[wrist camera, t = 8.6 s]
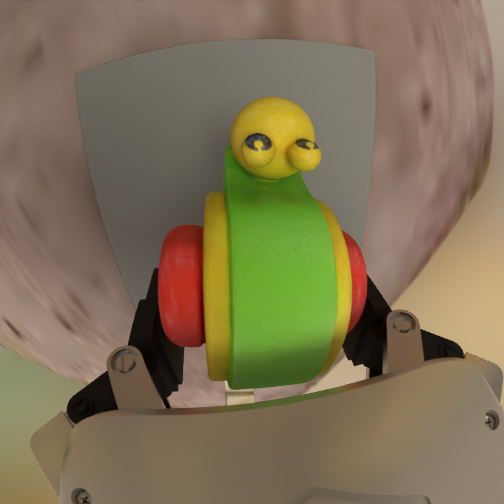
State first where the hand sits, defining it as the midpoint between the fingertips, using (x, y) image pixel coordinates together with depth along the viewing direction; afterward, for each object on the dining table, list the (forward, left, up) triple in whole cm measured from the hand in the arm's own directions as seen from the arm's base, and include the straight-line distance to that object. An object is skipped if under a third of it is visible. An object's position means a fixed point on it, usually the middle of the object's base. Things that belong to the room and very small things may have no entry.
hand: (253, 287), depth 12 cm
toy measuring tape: (0, -2, -1) cm, 3 cm away
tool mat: (0, 0, -7) cm, 7 cm away
